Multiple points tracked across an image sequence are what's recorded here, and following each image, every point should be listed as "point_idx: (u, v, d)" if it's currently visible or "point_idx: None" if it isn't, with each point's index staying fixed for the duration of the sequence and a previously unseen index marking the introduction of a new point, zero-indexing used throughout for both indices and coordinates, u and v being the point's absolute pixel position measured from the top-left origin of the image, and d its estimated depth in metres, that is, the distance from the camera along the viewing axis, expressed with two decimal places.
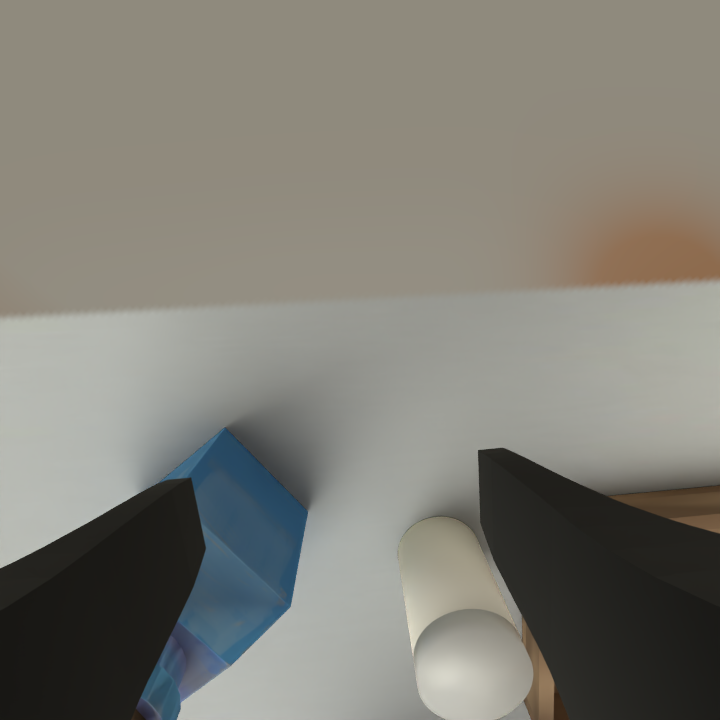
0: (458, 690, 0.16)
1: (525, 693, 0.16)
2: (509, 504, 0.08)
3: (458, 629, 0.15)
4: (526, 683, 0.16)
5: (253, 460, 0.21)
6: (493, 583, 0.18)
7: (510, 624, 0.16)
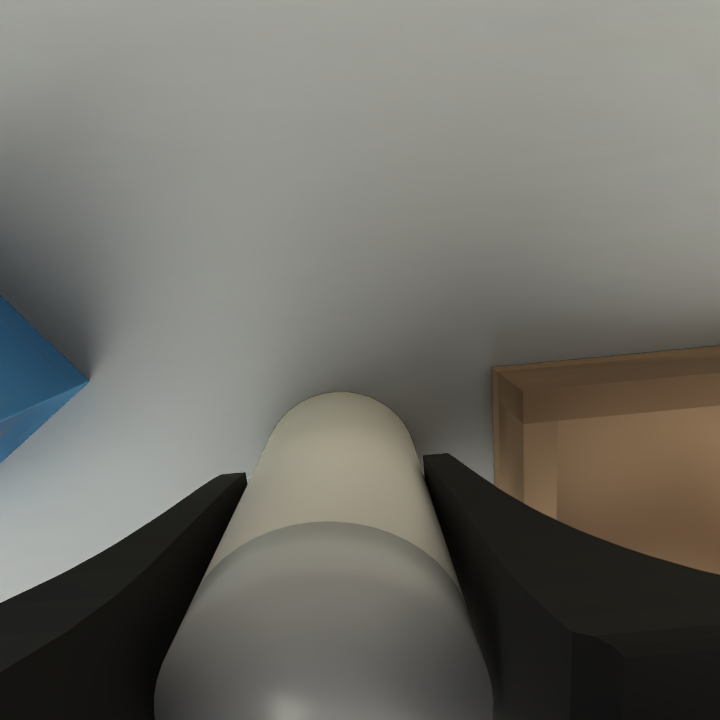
0: None
1: None
2: (443, 511, 0.08)
3: (266, 570, 0.05)
4: None
5: None
6: (415, 487, 0.08)
7: (434, 564, 0.06)
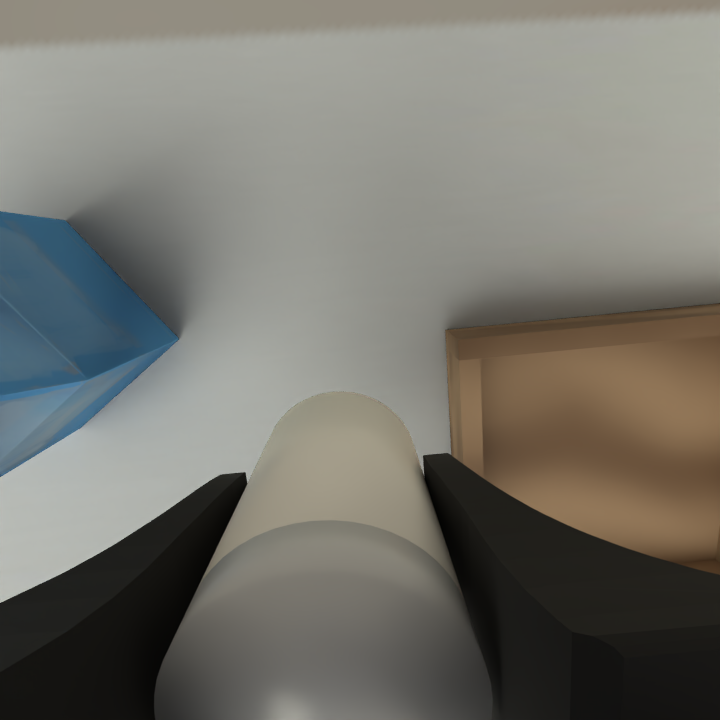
0: None
1: None
2: (443, 510, 0.08)
3: (266, 569, 0.05)
4: None
5: (101, 263, 0.16)
6: (415, 486, 0.08)
7: (433, 563, 0.06)
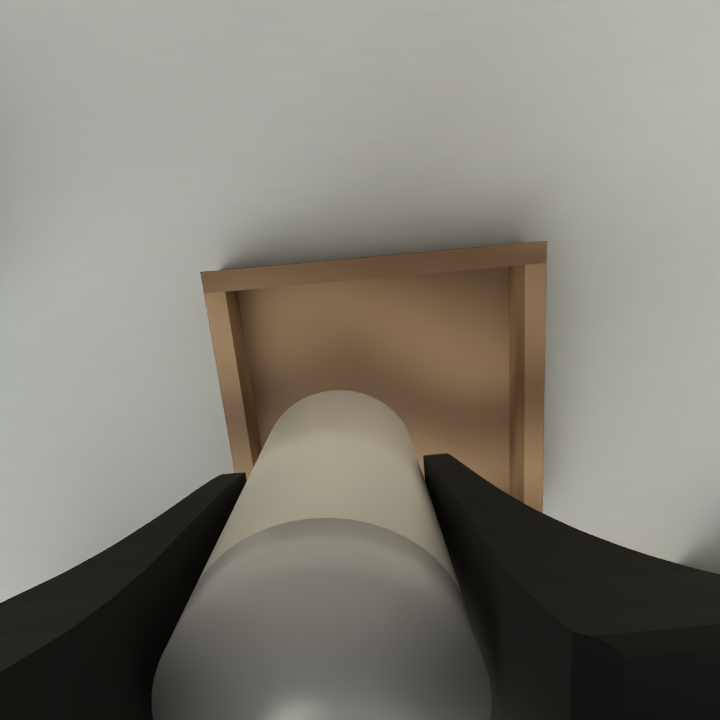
0: None
1: None
2: (443, 510, 0.08)
3: (264, 566, 0.05)
4: None
5: None
6: (414, 484, 0.08)
7: (432, 561, 0.06)
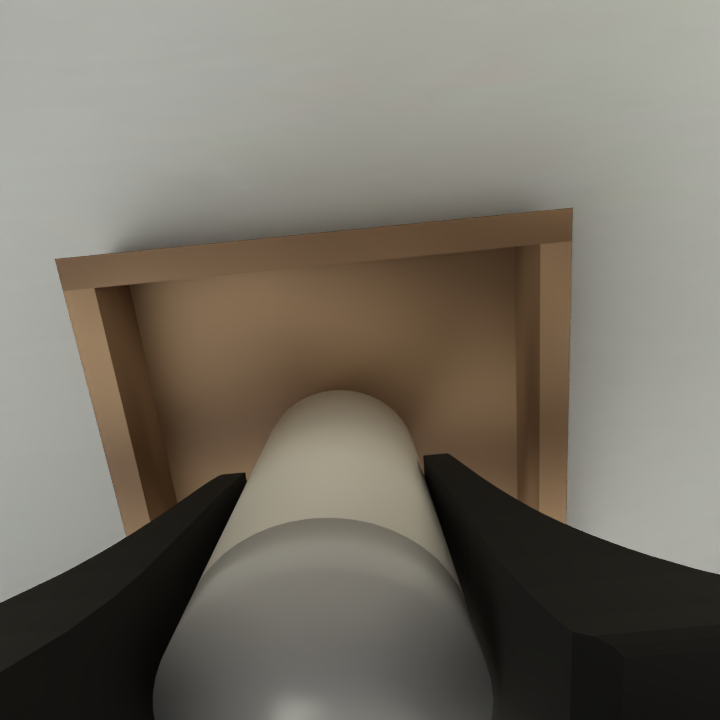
0: None
1: None
2: (443, 510, 0.08)
3: (265, 566, 0.05)
4: None
5: None
6: (415, 484, 0.08)
7: (433, 561, 0.06)
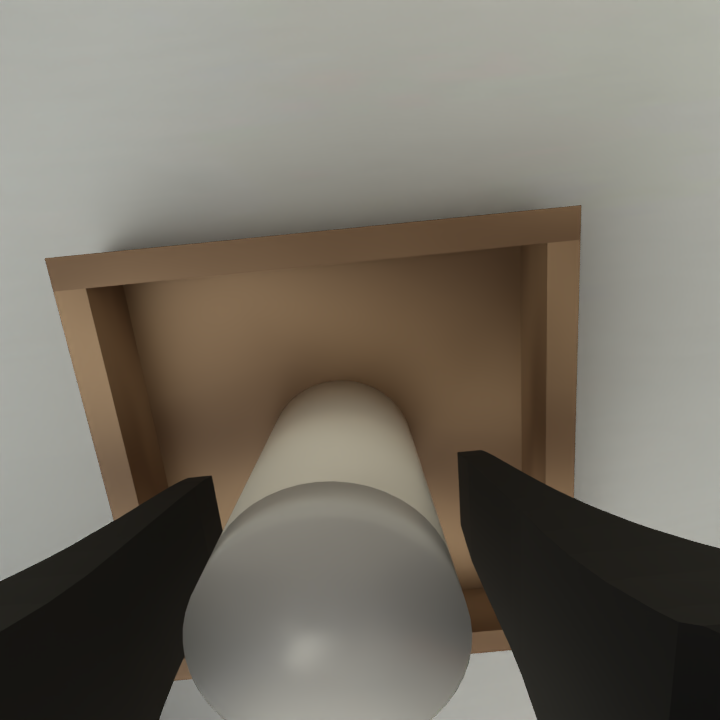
0: (290, 673, 0.06)
1: (454, 681, 0.07)
2: (484, 506, 0.08)
3: (279, 517, 0.06)
4: (455, 656, 0.06)
5: None
6: (409, 460, 0.09)
7: (422, 519, 0.07)
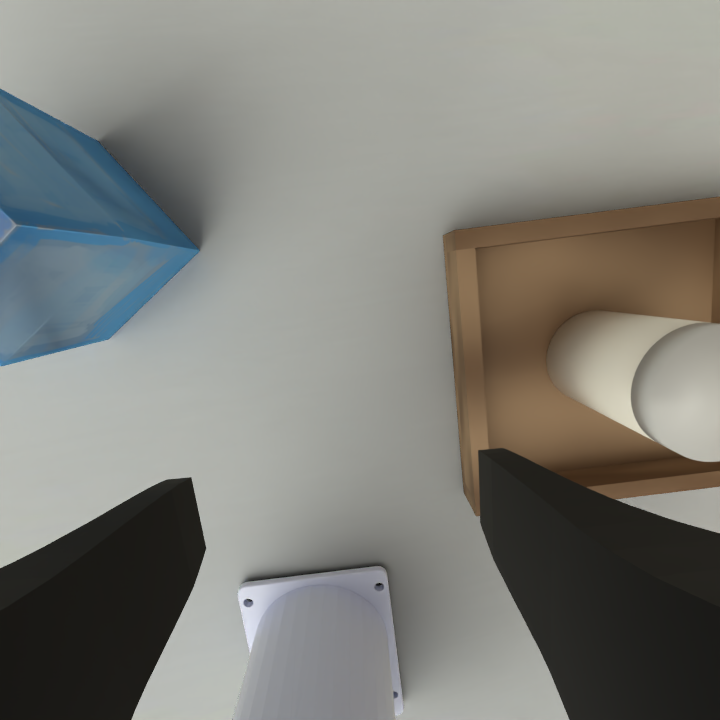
0: (701, 412, 0.13)
1: None
2: (509, 504, 0.08)
3: (701, 330, 0.13)
4: None
5: (130, 178, 0.18)
6: None
7: None
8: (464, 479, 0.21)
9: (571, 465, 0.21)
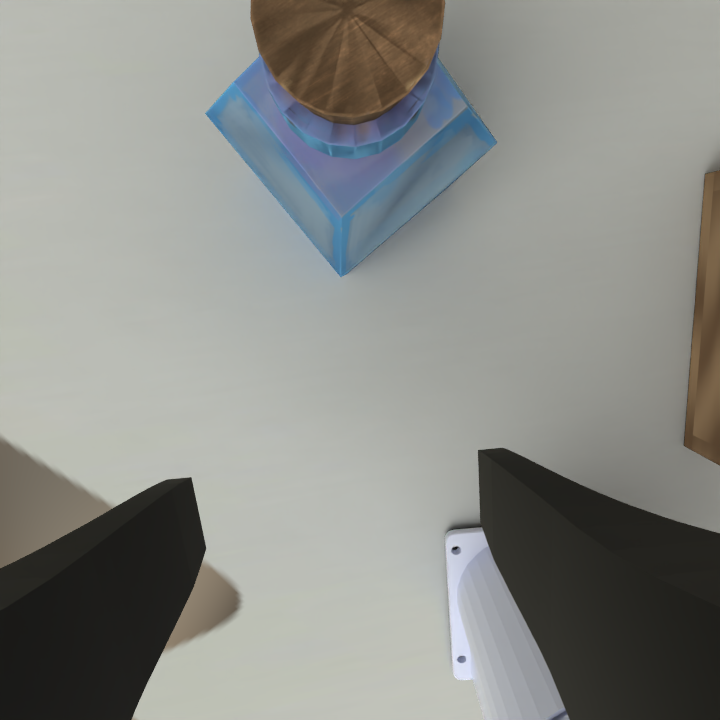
0: None
1: None
2: (509, 504, 0.08)
3: None
4: None
5: None
6: None
7: None
8: (691, 431, 0.21)
9: None
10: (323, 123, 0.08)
